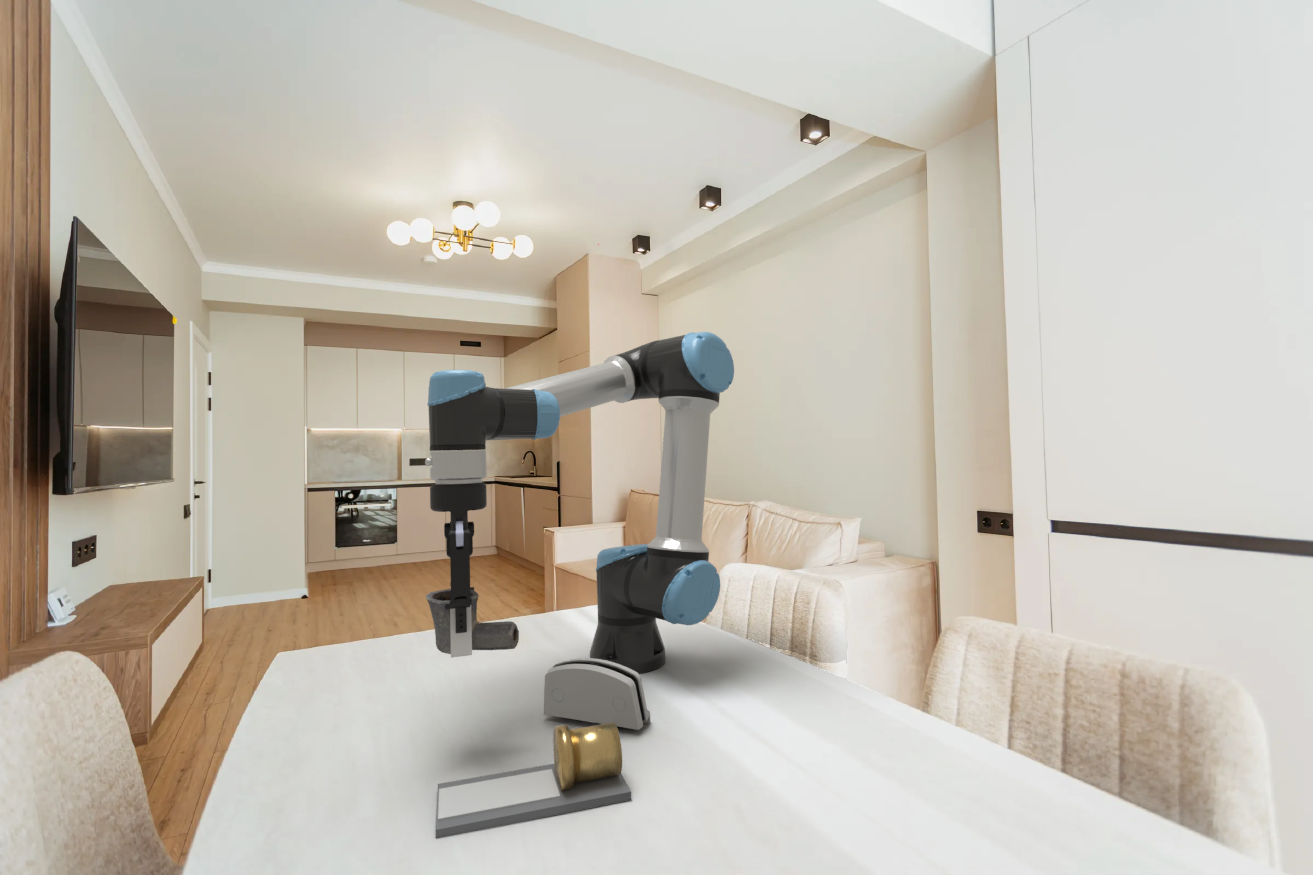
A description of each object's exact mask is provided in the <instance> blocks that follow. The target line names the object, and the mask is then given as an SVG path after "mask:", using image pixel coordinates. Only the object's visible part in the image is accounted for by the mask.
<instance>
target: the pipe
mask: <svg viewBox="0 0 1313 875" xmlns="http://www.w3.org/2000/svg"><path fill="white" fill-rule="evenodd" d="M457 597H462V596H457ZM470 598H472V602H471V623H472V651H500V650H501V651H504V650H513V649H516V647H517V646H518V643H519V642H520V641H519V639H520V633H519V632H520V630H519V629H518V628H519V627H518V625H517V624H516V623H515V622H514V621H509V620H508V621H493V622H491V621H490V622H487V621H486V622H485V621H484V622H481V621H480V622H479V621H478V619H477V618H478V617H477V614H478V613H477V612H478V610H477V609H478V600H479V593H478V592H477V591H475V590H474V591H473V590H470ZM425 599H426V601H427V603H428V606H429V610H430V612H431V613H430V614H431V616H432V621H433V626H434V635H435V645H436V649H437V650H438V651H440V653H444V654H448V655H451V634H450V609H445V604H450V600H451V588H445V589H440V590H435V591H431V592H429V593H427V594H426V595H425Z"/></svg>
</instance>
